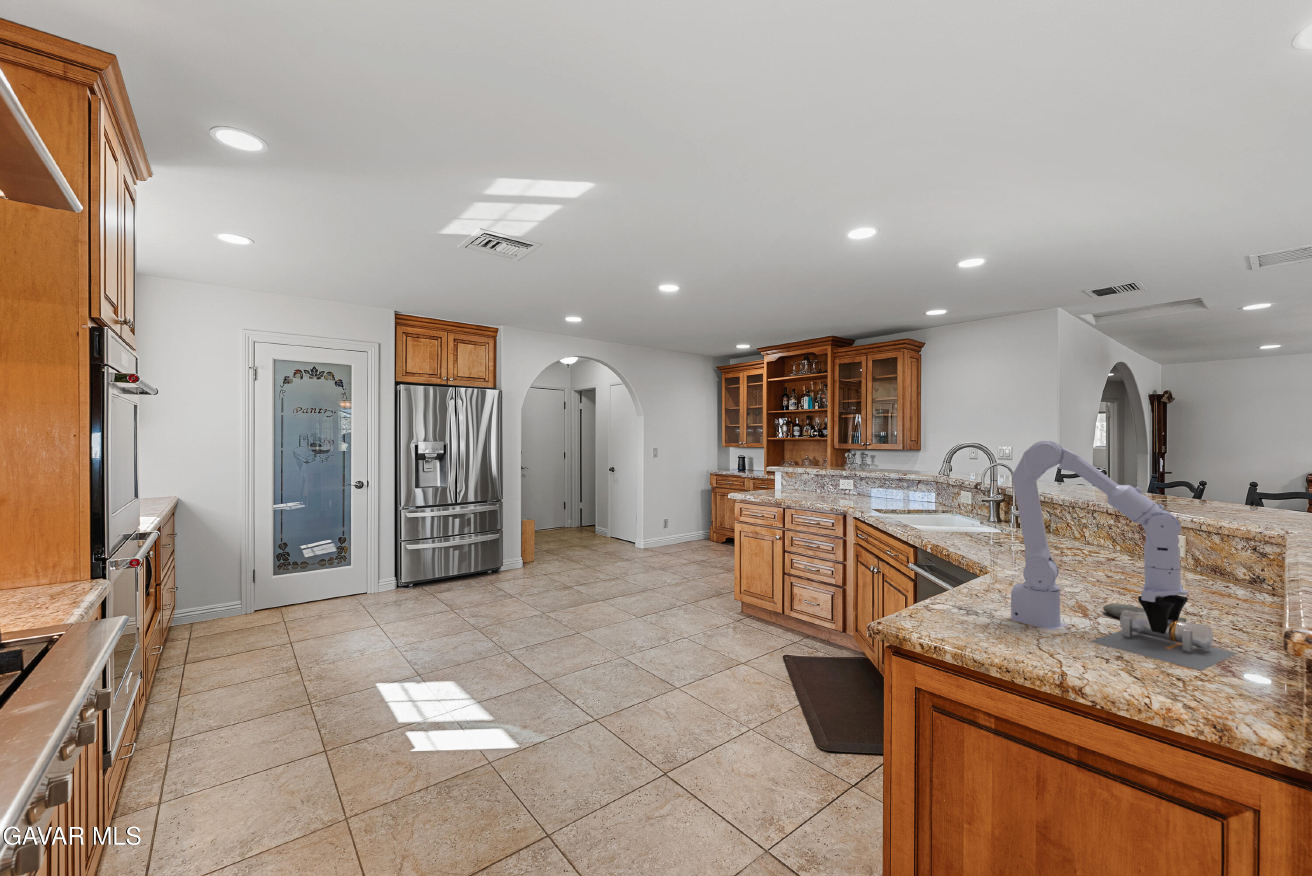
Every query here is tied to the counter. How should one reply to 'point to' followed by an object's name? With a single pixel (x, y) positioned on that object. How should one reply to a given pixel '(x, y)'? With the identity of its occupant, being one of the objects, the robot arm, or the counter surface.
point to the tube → (1170, 629)
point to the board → (1165, 650)
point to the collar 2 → (1189, 642)
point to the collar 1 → (1129, 628)
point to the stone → (1118, 608)
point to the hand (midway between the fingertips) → (1163, 630)
